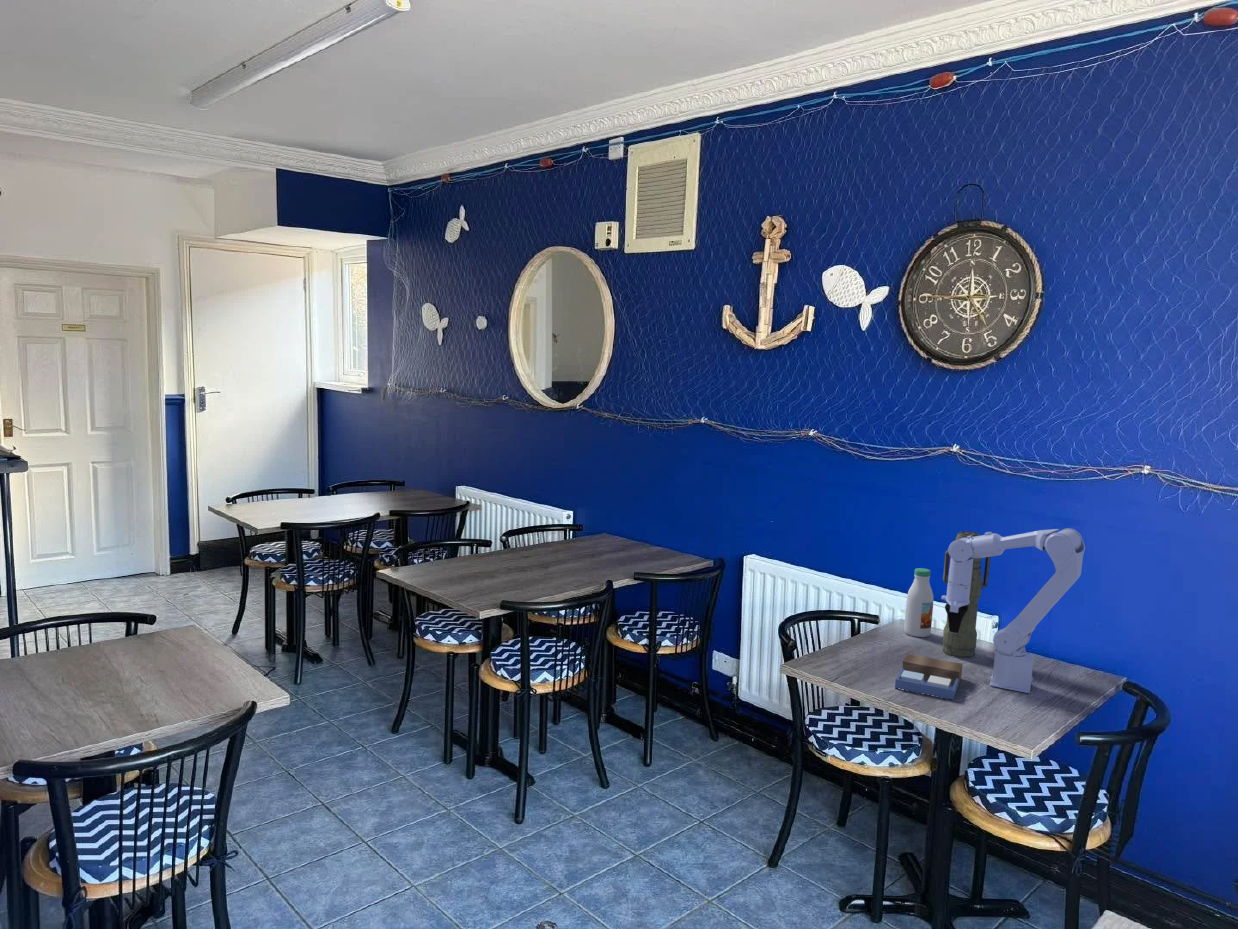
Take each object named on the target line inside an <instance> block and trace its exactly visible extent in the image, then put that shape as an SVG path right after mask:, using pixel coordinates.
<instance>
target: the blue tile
mask: <svg viewBox="0 0 1238 929" xmlns="http://www.w3.org/2000/svg"><path fill="white" fill-rule="evenodd" d="M900 679H901V680H906V681H912V682H917V683H922V684H923V681H924V674H922V673H916V672H911V671H906V670H904V671H903V673H902V675H901V678H900Z"/></svg>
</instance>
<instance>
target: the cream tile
mask: <svg viewBox="0 0 1238 929" xmlns="http://www.w3.org/2000/svg"><path fill="white" fill-rule="evenodd" d="M927 685H932V686H937V687H942V688H947V689H950V687H951V679H947V678H942V677H937V676H932V675H930V677H929V679H928V681H927Z"/></svg>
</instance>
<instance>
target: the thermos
mask: <svg viewBox="0 0 1238 929" xmlns="http://www.w3.org/2000/svg"><path fill="white" fill-rule="evenodd" d="M971 535H972V536H973V537H975V536H982V535H981V534H979V533H978V532H976V531H968V530H963V531H960V532H958V533H957V534H956V536H955V540H958V539H961V538H967V536H971ZM955 540H954V541H955ZM991 557H992V556H990V557H985V561H984V570H983V571H984V572H983V573H984V574H983V573H982V565H981V563H982V560H983V558H974V559H973V569H972V578H971V587H970V596H969V600H970V603H969V604H967V606H968V610H967V612H966V613H965V615H964V617H963V619H962V622H961V626H960V629H959V631H958V633H954V632H950V630H949V622H948V615H946V623H945V625H944V627H943V636H942V651H943V652H944V653H945V655H947V656H948V657H951V656H954V657H953V658H955V657H958V658H957V659H964V658H967V659H972V658H971V657H973V658H974V657H975V655H976V654H975V650H976V648H977V641H978V640H977V639H978V632H977V629H976V628H977V621H978V620H977V619H978V610H979V599H980V597H981V595H982V589H983V588H987V587H988V582H989V578H990V577H989V576H990V565H991ZM950 559H951V557H950V555H949V553H948V549H947V550H946V551H945V554H944V563H943V575H942V581H943V582H944V583H945V584H946V585H947V586H948V577H949V568H950ZM982 574H983V575H982ZM943 652H942V653H943ZM944 653H943V654H944Z"/></svg>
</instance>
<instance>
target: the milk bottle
mask: <svg viewBox="0 0 1238 929" xmlns="http://www.w3.org/2000/svg"><path fill="white" fill-rule="evenodd" d="M931 572H932V571H931V569H929V568H923V567H919V568H918V567H917V568H915V569H914V575H913V576H914V579H913V581H912V584H911V586H910V587H909V589H908V591H907V595H906V601H905V602H906V604H905V612H904V614H905V615H904V625H903V627H904V628H903V631H904V633H905V634H906V635H908V636H912V637H917V638H928V637H930V635H931V634H932V633H931V632H932V623H933V613H934V612H933V610H934V593H933V589H932V587H931V584H930V578H931Z"/></svg>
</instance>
